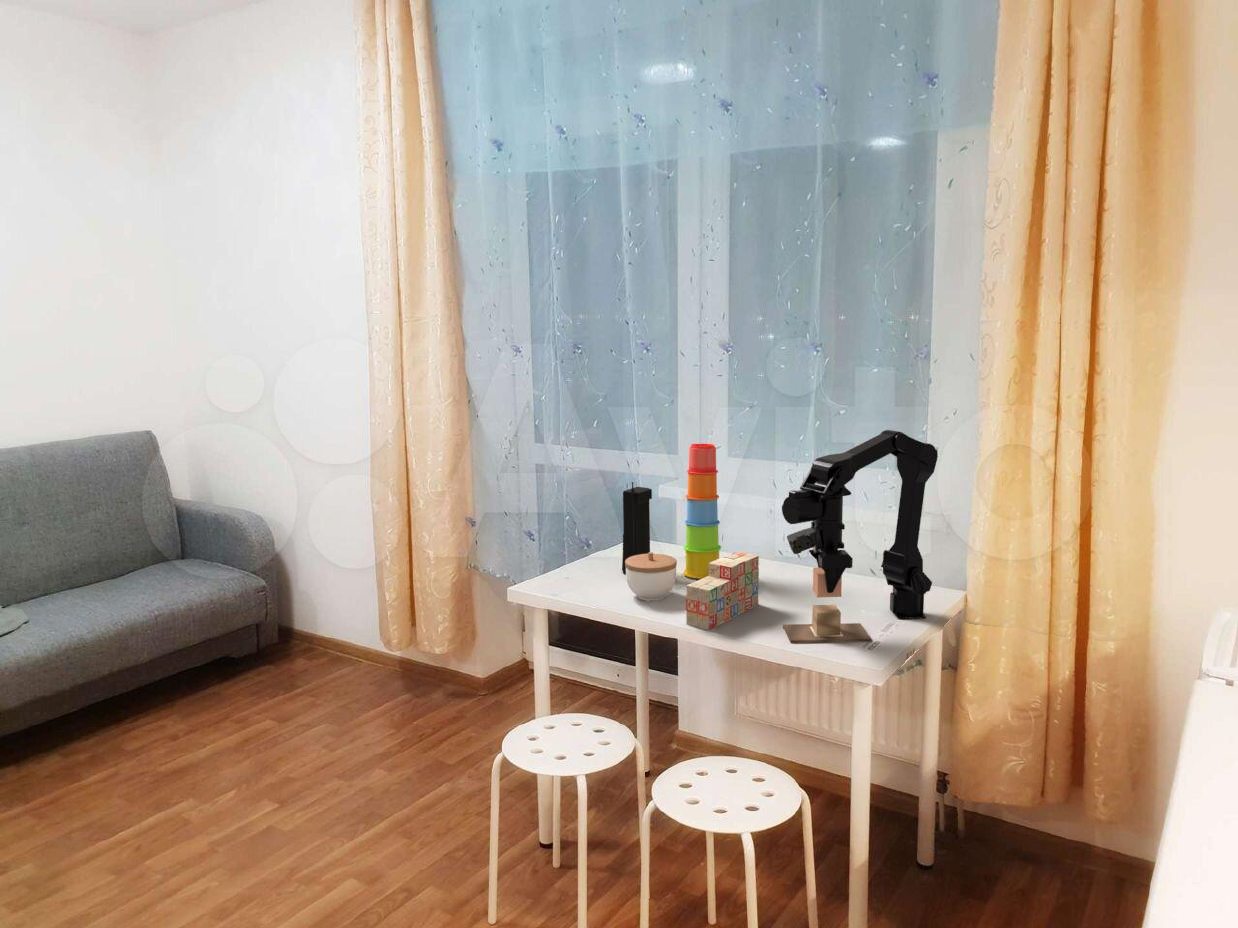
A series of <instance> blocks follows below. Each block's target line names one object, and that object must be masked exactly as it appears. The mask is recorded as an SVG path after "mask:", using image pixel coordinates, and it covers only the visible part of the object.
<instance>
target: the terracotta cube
mask: <svg viewBox="0 0 1238 928" xmlns="http://www.w3.org/2000/svg"><path fill="white" fill-rule="evenodd" d="M812 569H813V571H812V591H813V593H814V594H815V595H816V598H842V588H843V587H842V583H843V582H842V579H843V578H842V577H843V575H842V576H841V578H840V579H839V581H838V583H837V585H836V587H835V589H834V591H833V593H828V592H827V588H826V582H825V575H824V570H823V569H822V568H818V567H813V568H812Z"/></svg>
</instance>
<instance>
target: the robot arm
mask: <svg viewBox="0 0 1238 928" xmlns="http://www.w3.org/2000/svg"><path fill="white" fill-rule="evenodd" d="M889 455H892V456H894V457H896V468H897V470H898V473H899V476H900V478H901V479H900V480H901V488H900V489H901V490H900V495H899V502H898V511H897V512H898V513H897V520H896V521H897V522H896V530H895V537H894V543H893V544H892V546H891V547H890V548H889V549H888V550H887V549H885V550H884V551H883V552H882V563H881V565H880V567H881V568H882V574H883V575H884V577H885V580H886V583H887V585H888V586H892V592H890V594H889V610H890V612H891V613H892V614H893V615H894V616H895V617H896V618H897V619H926V617H927V616H926V614H925V613H924V611H925V610H924V609H925V608H924V606H925V595H926V594H927V593H928V592H930V591H931V589H932V584H933V582H932V580H931V579H930V578H929V577H928V576H927V574H926V573H925V572H924V559H923V557H922V556H923V555H922V554H921V552H920V549H919V547H918V545H919V544H918V543H919V537H920V527H921V520H922V513H923V505H924V496H925V490H926V483H927V482H928V480H929V479H930V478H931V477H932V475H934V473H935V469H936V466H937V463H938V457H939V456H938V450H937V449H936V446H934V445H933V444H932V443H926V442H922V441H919V440H917V439H915V438H912V437H911V436H908V435H907V434H906V433H903V432H902V431H899V430H891V429H885V430H883V431H882V432H881V433H880V434H878V435H876V436H874V437H872V438H869V439H868V440H865V441H863V442H862V443H860V444H858V445H856V446H854V447H853V448H850V449H848V450H847V451H844V452H840V453H831V454H827V455H823V456H820V457H818V458H816V459H814V460H813V462H812V465H811V467H810V468H809V471H808V473H807V475H806V477H805V478H804V480H803V481H802V483H801V485H800V487H799V490H794V489H793V490H788V497H786V498H785V499H784V501H783V502H782V503H783V504H782V505H781V511H782V512H781V513H782V516H783V518H784V520H785V521H786V523H788V524H790V525H797V524H803V523H807V522H810V523H811V524H810V527H807V528H804V529H800V530H798V531H795V532H793V533H791V534H788V535H787V536H786V539H787V541H788V545H789V547H790V550H791V551H792V553H793V554H794V555H798V554H801V553H802V552H804V551H808V552H809V553H810V555H811V556H812V557H813V558H814V559H815V560H816V564H817V568H822V569H823V570H824V575H825V582H826V588H827V592H828V593H833V591H834V589H835V587H836V585H837V583H838V581H839V579H840V578H841V576H842V577H843V573H844V572H845V570H846V569H851V568H853V561H854V559H853V557H852V556H851V555H850V554H849V553H848V552H847V550H845V543H844V542H843V530H845V523H843V512H844V511H843V510H844V508H843V507H844V506H843V505H844V504H843V503H844V497H846V496H847V497H848V496H851V495H852V492H851V490H849V489H848V488H847V487H846V485H847V484H848V483H850V482H851V481H852V480H853V479H854V477H855V475H856V473H857V472H859V471H860V470H861V469H863V468H866V467H867V466H869V465H871V464H873V463H875V462H877V461H880V460H881V459H882V458H884V457H887V456H889Z"/></svg>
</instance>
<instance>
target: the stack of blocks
mask: <svg viewBox="0 0 1238 928" xmlns="http://www.w3.org/2000/svg"><path fill="white" fill-rule="evenodd" d="M759 560H760V559H759V555H756V554H750V553H745V552H739V551H735V552H732V553H729V554H726V555H723V557H719V559H717V560H715V561H713V562H710V563H709V576H707V577H705V578H703V579H697V580H696V581H694V582H692V583H689V584H687V585H686V598H685V599H686V600H685V610H686V614H685V615H686V617H685V619H686V625H689V626H691V627H692V626H693V627H698V628H701V629H705V630H711V629H713V628H715V627H717V626H720V625H721V624H723V623H725V622H727V621H729V620H731V619H733V618H734V617H737V616H738V615H740V614H742V613H745V612H747V611H748V610H750V609H753V608H754V607H756V606H758V605H759V581H760V579H759V578H760V577H759V576H760V575H759V574H760V569H759V565H760V564H759V563H760V561H759Z"/></svg>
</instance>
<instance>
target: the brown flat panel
mask: <svg viewBox="0 0 1238 928" xmlns="http://www.w3.org/2000/svg"><path fill="white" fill-rule="evenodd" d="M782 628H783V630H784V631H785V634H786V636H787V638H788V640H789V642H790V644H799V643H800V644H803V643H804V644H806V643H807V644H810V643H814V644H815V643H866V642H867V643H870V642H871V643H872V640H873V639H872V638H871V636H870V635H869V633H868V632H867V631H866V629H865V628H864V626H863V625H862V623H860V622H857V623H855V622H853V623H841V626H840V635H816V633H815V631H814V630H813V628H812V623H798V624H797V623H793V624H792V623H791V624H787V623H785V624H782Z"/></svg>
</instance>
